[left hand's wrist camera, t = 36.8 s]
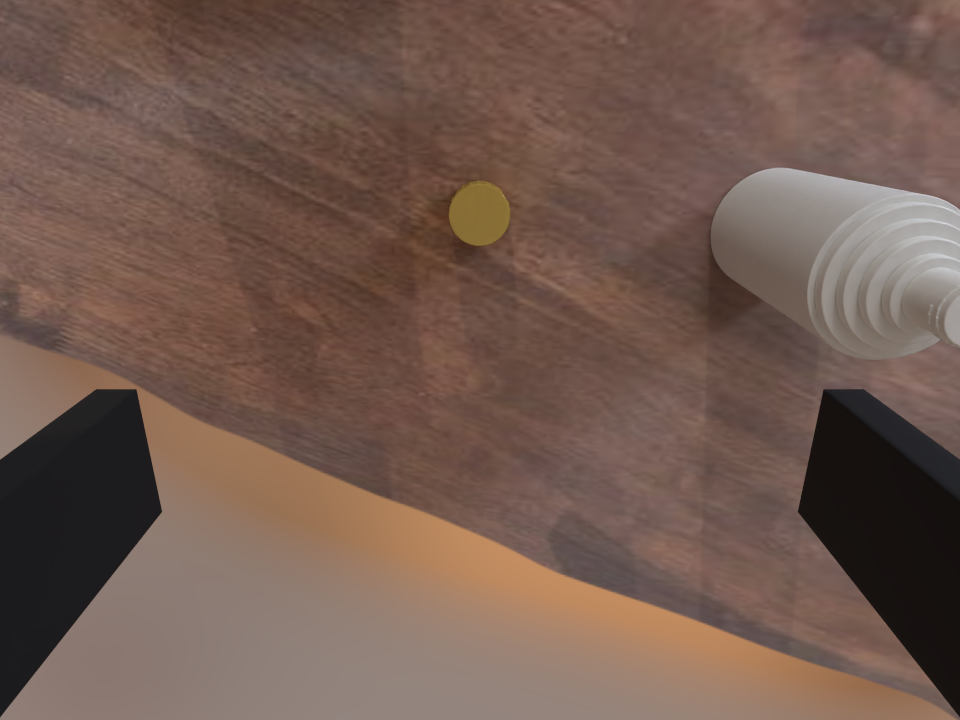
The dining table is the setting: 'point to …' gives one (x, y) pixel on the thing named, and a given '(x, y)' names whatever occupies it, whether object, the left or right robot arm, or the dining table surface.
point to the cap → (479, 213)
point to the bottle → (845, 259)
